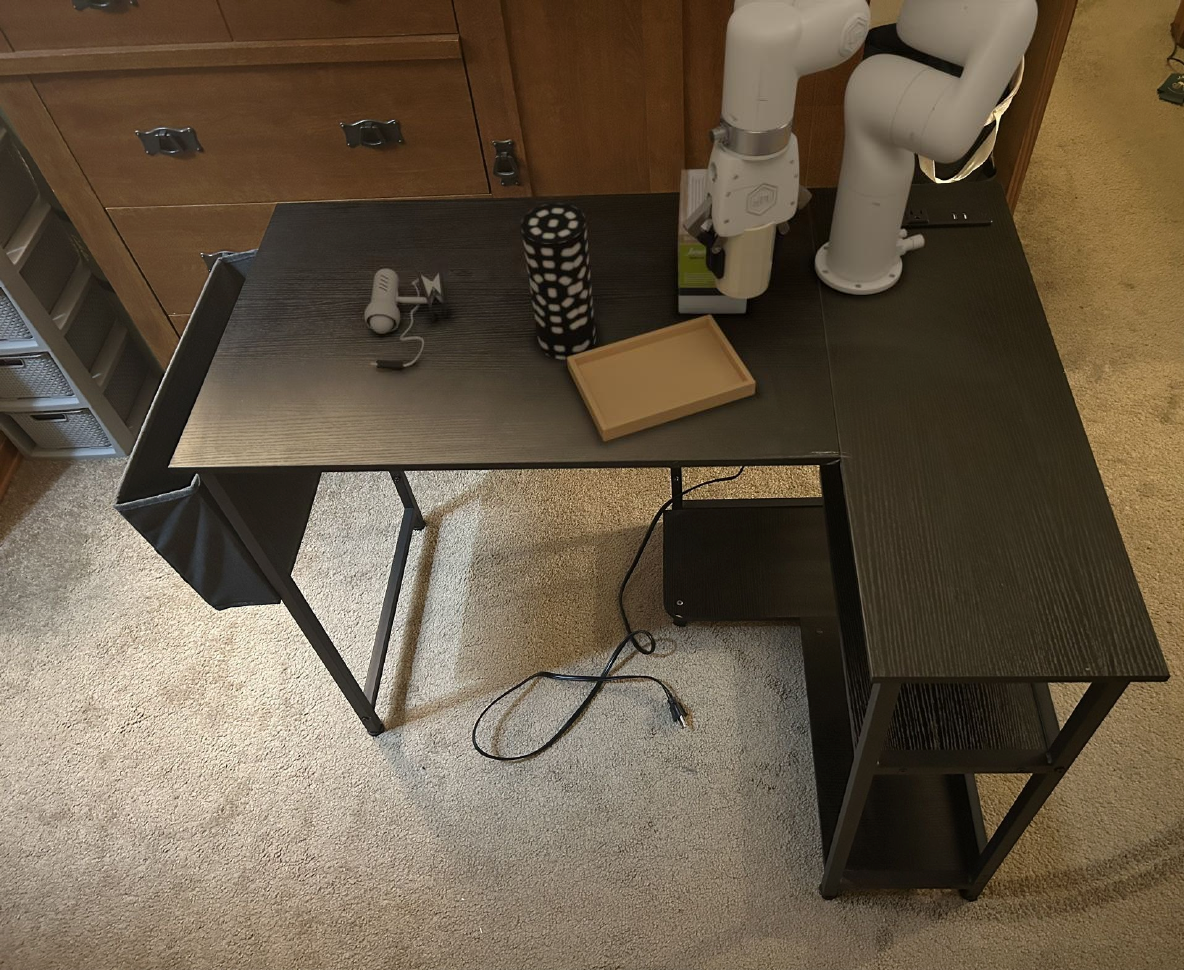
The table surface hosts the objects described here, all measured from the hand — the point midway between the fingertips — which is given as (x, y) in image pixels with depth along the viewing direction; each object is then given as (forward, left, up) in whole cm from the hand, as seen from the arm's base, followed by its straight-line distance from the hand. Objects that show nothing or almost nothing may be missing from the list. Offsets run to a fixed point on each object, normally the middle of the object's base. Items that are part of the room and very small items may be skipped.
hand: (743, 263), depth 112 cm
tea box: (-5, -18, -18) cm, 26 cm away
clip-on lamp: (+40, -26, -18) cm, 51 cm away
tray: (+10, -2, -18) cm, 21 cm away
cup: (0, 0, -3) cm, 3 cm away
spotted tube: (+19, -15, -18) cm, 31 cm away
